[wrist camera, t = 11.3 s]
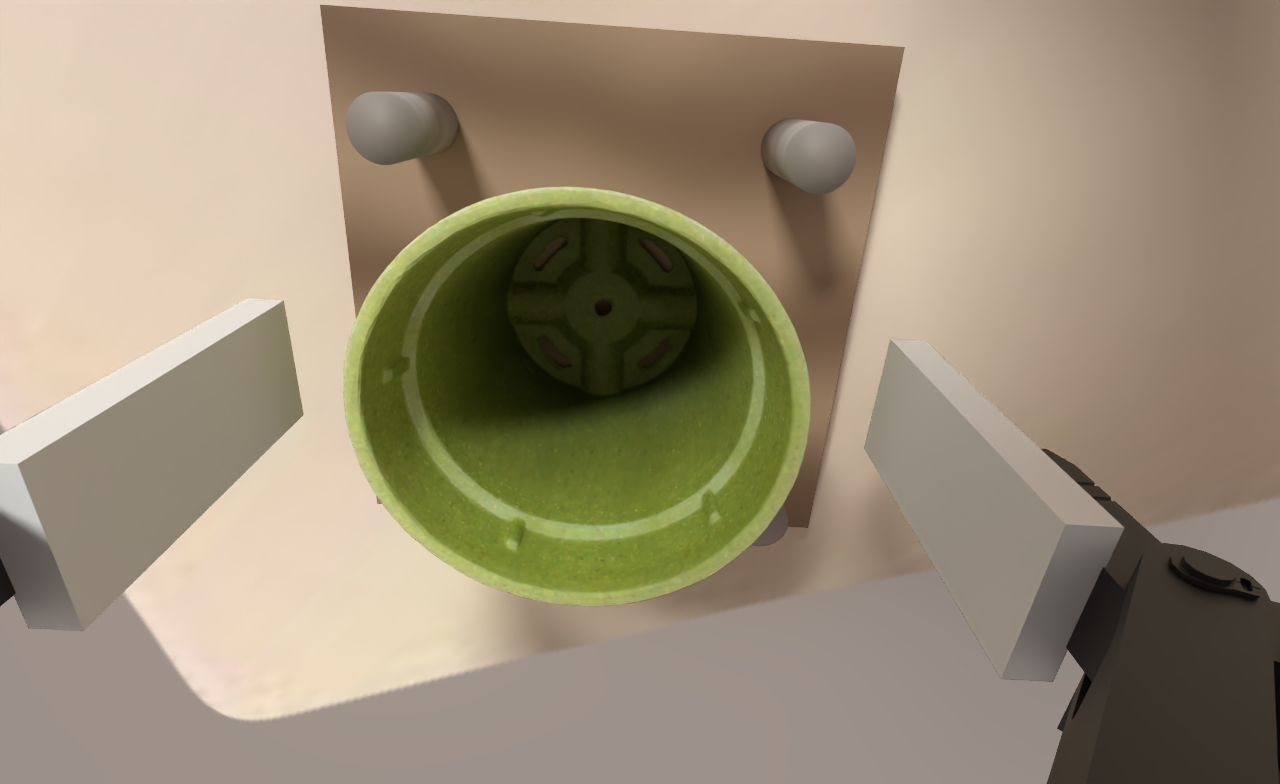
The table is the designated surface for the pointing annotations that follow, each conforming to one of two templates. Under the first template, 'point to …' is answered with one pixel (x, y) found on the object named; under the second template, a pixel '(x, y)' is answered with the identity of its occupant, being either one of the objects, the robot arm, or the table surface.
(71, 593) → the robot arm
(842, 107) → the stand
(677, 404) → the plant pot
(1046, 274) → the table surface
